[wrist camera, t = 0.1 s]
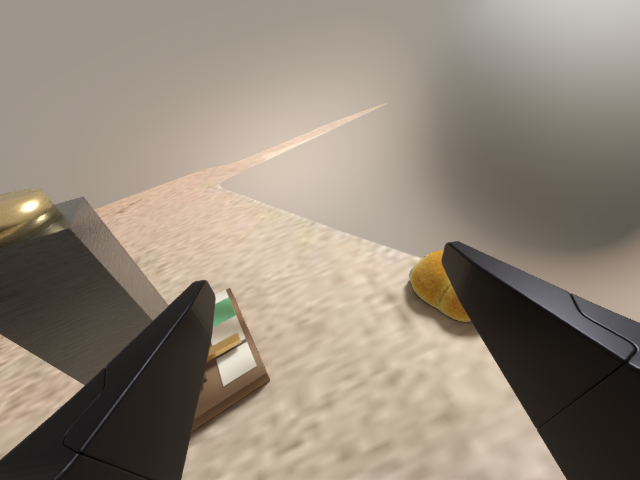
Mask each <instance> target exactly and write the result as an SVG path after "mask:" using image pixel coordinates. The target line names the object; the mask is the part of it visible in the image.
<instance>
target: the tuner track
mask: <svg viewBox="0 0 640 480" xmlns="http://www.w3.org/2000/svg"><path fill="white" fill-rule="evenodd" d="M215 297H216V302H215V312H214V322H213V332H212V339H211V345H210V347H212V346H213V345H215V344H217V343H219V342H221V341H223V340H224V339H226V338H228V337H230V336H232V335H233V334H235V333H238V335H239V337H240V339H241V343H239V344H238V345H236V346H234V347H232V348H231V349H229V350H227V351H225V352H224V353H222V354H220V355H218V356H217V357H215V358H213V359H211V360H210V361H208V362H207V363H206V368H205V373H206V377H207V382H205V383H203V384H202V386H201V391H200V395H199V400H198V404H197V409H196V413H195V418H194V423H193V427H192V431H194V430H195V429H197V428H198V427H200V426H201V425H203V424H204V423H206V422H207V421H209V420H210V419H212V418H213V417H215V416H216V415H218V414H220V413H221V412H223V411H224V410H226V409H227V408H229V407H230V406H232V405H233V404H235V403H236V402H238V401H239V400H241V399H242V398H244V397H245V396H247V395H248V394H250V393H252V392H253V391H255V390H256V389H258V388H259V387H261V386H262V385H264V384H265V383H267V382H268V381H270V378H269V376H268V374H267V371H266V369H265V367H264V364H263V362H262V360H261V358H260V355H259V353H258V351H257V348H256V346H255V344H254V341H253V339H252V337H251V334H250V332H249V330H248V327H247V325H246V323H245V320H244V318H243V316H242V314H241V311H240V309H239V307H238V304H237V302H236V300H235V297H234V295H233V293H232V291H231V289H230V288H229V289H227V290H226V289H225V290H223V291H221V292H219V293H217V294H215Z"/></svg>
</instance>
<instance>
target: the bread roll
mask: <svg viewBox="0 0 640 480" xmlns="http://www.w3.org/2000/svg"><path fill="white" fill-rule="evenodd" d="M443 251H444V250H442V251H435V252H432V253H430V254H429V255H427V256H424V257H423V258H422V259H421V260H420V261H419V262H418V263H417V264H416V265H415V266H414V267H413V268H412V269H411V271H410V274H409V278H410V281H411V284H412V287H413V289H414V291H415V292H416V294H417V295H418V296H419V297H420V298H421V299H422V300H424V301H425V302H426V303H428V304H430V305H431V306H433V307H435V308H437V309H439V310H440V311H441V312H442V313H444V314H445V315H447V316H449V317H451V318H452V319H455V320H457V321H462V322H468V321H471V320H470V318H469V317H468V315H467V313H466V312H465V310H464V308H463V307H462V305H461V303H460V301H459V300H458V298H457V296H456V294H455V292H454V289H453V287H452V285H451V283H450V281H449V279H448V276H447V274H446V272H445V270H444V268H443V266H442V262H441V259H442V255H443Z"/></svg>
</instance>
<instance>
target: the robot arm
mask: <svg viewBox="0 0 640 480" xmlns="http://www.w3.org/2000/svg"><path fill="white" fill-rule="evenodd" d="M441 262H442V266H443V268H444V270H445V272H446V274H447V276H448V279H449V281H450V283H451V285H452V287H453V289H454V292H455V294H456V296H457V298H458V300H459V301H460V303H461V305H462V307H463V308H464V310H465V312H466V313H467V315H468V317H469V318H470V320H471V322H472V323H473V325H474V326H475V328H476V330H477V331H478V333H479V335H480V336H481V338H482V340H483V341H484V343H485V345H486V346H487V348H488V350H489V351H490V353H491V355H492V356H493V358H494V360H495V361H496V363H497V365H498V366H499V368H500V369H501V371H502V373H503V374H504V376H505V378H506V379H507V381H508V383H509V384H510V386H511V388H512V389H513V391H514V393H515V394H516V396H517V398H518V399H519V401H520V403H521V404H522V406H523V408H524V409H525V411H526V412H527V414H528V416H529V417H530V419H531V421H532V422H533V424H534V426H535V427H536V428H537V431H538V433H539V434H540V436H541V438H542V439H543V441H544V443H545V444H546V446H547V448H548V449H549V451H550V453H551V454H552V456H553V457H554V459H555V461H556V462H557V464H558V466H559V467H560V469H561V471H562V472H563V474H564V476H565V477H566V479H567V480H640V323H638V322H636V321H634V320H631V319H629V318H626V317H624V316H622V315H619V314H617V313H614V312H612V311H610V310H607V309H605V308H603V307H601V306H598V305H596V304H594V303H592V302H589V301H587V300H585V299H583V298H581V297H578V296H576V295H574V294H570V293H569V292H567V291H565V290H563V289H561V288H559V287H556V286H554V285H552V284H550V283H548V282H546V281H544V280H541V279H539V278H537V277H534V276H533V275H530V274H528V273H526V272H524V271H522V270H520V269H517V268H515V267H513V266H511V265H509V264H507V263H504V262H502V261H500V260H498V259H496V258H493V257H491V256H489V255H487V254H485V253H483V252H480V251H478V250H476V249H474V248H472V247H469V246H467V245H465V244H463V243H461V242H458V241H455V242H448V243H446V245H445V247H444V251H443V255H442V259H441ZM215 302H216V297H215V294H214V292H213V290H212V288H211V287H210V285H209V283H208V282H207V281H206V280H201V281H195V282H193V283H192V284H191V285H190V286H189V287H188V288H187V289H186V290H185V291H184V292H183V293H182V294H181V295H179V296H178V297H177V298H176V299H175V300H174V301H173V302H172V303H171V304H170V305H169V306H168V307H167V308H166V309H165V310H164V311H163V312H162V313H161V314H160V315H159V316H158V317H156V318H155V319H154V320H153V321H152V322H151V323H150V324H149V325H148V326H147V327H146V328H145V329H144V330H143V331H142V332H141V333H140V334H139V335H138V336H137V337H136V338H134V339H133V340H132V341H131V342H130V343H129V344H128V345H127V346H126V347H125V348H124V349H123V350H122V351H121V352H120V353H119V354H118V355H117V356H116V357H115V358H114V359H112V360H111V361H110V362H109V363H108V364H107V365H106V368H103V369H102V370H101V371H100V372H99V373H98V374H97V375H96V376H95V377H94V378H93V379H91V380H90V381H89V382H88V383H87V384H86V385H85V386H84V387H83V388H82V389H81V390H80V391H79V392H77V393H76V394H75V395H74V396H73V397H72V398H71V399H70V400H69V401H68V402H66V403H65V404H64V405H63V406H62V407H61V408H60V409H59V410H57V411H56V412H55V413H54V414H53V415H52V416H51V417H49V418H48V419H47V420H46V421H45V422H44V423H42V424H41V425H40V426H39V427H38V428H37V429H36V430H34V431H33V432H32V433H31V434H30V435H29V436H27V437H26V438H25V439H24V440H23V441H22V442H20V443H19V444H18V445H17V446H16V447H15V448H14V449H12V450H11V451H10V452H9V453H8V454H7V455H5V456H4V457H3V458H2V459H1V460H0V480H181V478H182V473H183V469H184V464H185V459H186V455H187V450H188V446H189V441H190V436H191V432H192V427H193V423H194V418H195V413H196V409H197V404H198V400H199V395H200V391H201V386H202V381H203V377H204V372H205V368H206V363H207V358H208V354H209V349H210V345H211V339H212V332H213V322H214V312H215Z"/></svg>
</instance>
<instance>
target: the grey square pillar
mask: <svg viewBox="0 0 640 480" xmlns="http://www.w3.org/2000/svg"><path fill="white" fill-rule="evenodd" d="M168 306H169V305H168V304H167V303H166V302H165V300H164V299H163V298H162V296H161V295H160V294H159V293H158V291H157V290H156V289H155V287H154V286H153V285H152V284H151V282H150V281H149V280H148V279H147V277H146V276H145V275H144V273H143V272H142V271H141V270H140V268H139V267H138V266H137V264H136V263H135V262H134V261H133V259H132V258H131V257H130V256H129V254H128V253H127V252H126V250H125V249H124V248H123V247H122V245H121V244H120V243H119V241H118V240H117V239H116V238H115V236H114V235H113V234H112V233H111V231H110V230H109V229H108V227H107V226H106V225H105V224H104V222H103V221H102V220H101V218H100V217H99V216H98V215H97V213H96V212H95V211H94V210H93V208H92V207H91V206H90V204H89V203H88V202H87V201H86V199H85V198H84V197H81V198H77V199H74V200H70V201H66V202H63V203H59V204H56V205H54V204H53V203H52V201H51V200H50V199H49V198H48V197H47V196H46V195H45V194H44V192H43V191H41V189H24V190H18V191H13V192H9V193H5V194H1V195H0V334H1V335H3V336H5V337H6V338H8V339H9V340H11V341H13V342H14V343H16V344H18V345H19V346H21V347H23V348H24V349H26V350H28V351H29V352H31V353H33V354H34V355H36V356H38V357H39V358H41V359H43V360H44V361H46V362H47V363H49V364H51V365H52V366H54V367H56V368H57V369H59V370H61V371H62V372H64V373H66V374H67V375H69V376H71V377H72V378H74V379H76V380H77V381H79V382H80V383H82V384H84V385H86V384H87V383H88V382H89V381H90V380H91V379H93V378H94V377H95V376H96V375H97V374H98V373H99V372H100V371H101V370H102V369H103V368H106V365H107V364H108V363H109V362H110V361H111V360H112V359H114V358H115V357H116V356H117V355H118V354H119V353H120V352H121V351H122V350H123V349H124V348H125V347H126V346H127V345H128V344H129V343H130V342H131V341H132V340H133V339H134V338H136V337H137V336H138V335H139V334H140V333H141V332H142V331H143V330H144V329H145V328H146V327H147V326H148V325H149V324H150V323H151V322H152V321H153V320H154V319H155V318H156V317H158V316H159V315H160V314H161V313H162V312H163V311H164V310H165V309H166V308H167V307H168ZM239 343H241V339H240V337H239V335H238V333H235V334H233V335H232V336H230V337H228V338H226V339H224V340H223V341H221V342H219V343H217V344H215V345H213V346H212V347H210V349H209V354H208V358H207V362H208V361H210V360H211V359H213V358H215V357H217V356H218V355H220V354H222V353H224V352H225V351H227V350H229V349H231V348H232V347H234V346H236V345H238V344H239ZM205 382H207V377H206V373H205V372H204V377H203V381H202V384H203V383H205Z"/></svg>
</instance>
